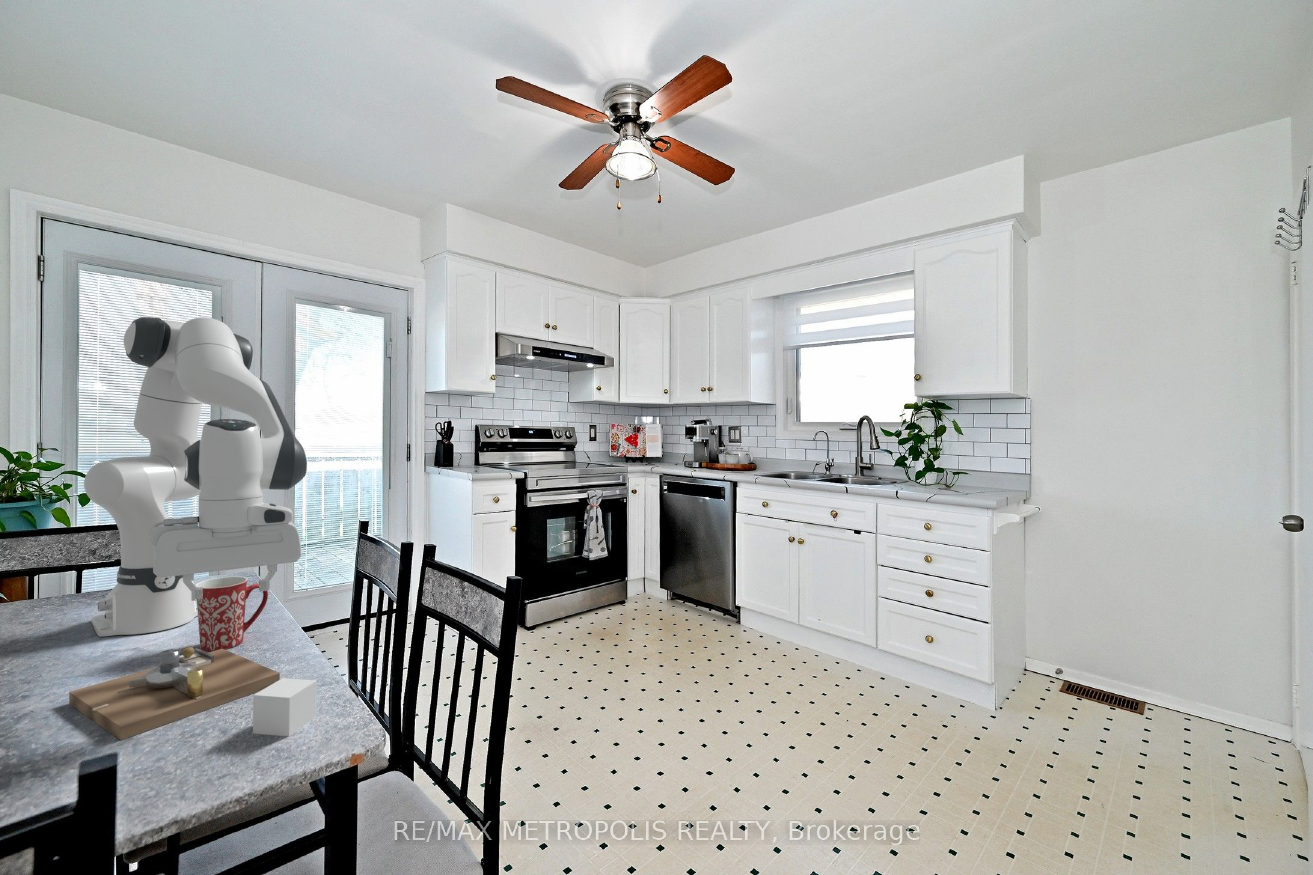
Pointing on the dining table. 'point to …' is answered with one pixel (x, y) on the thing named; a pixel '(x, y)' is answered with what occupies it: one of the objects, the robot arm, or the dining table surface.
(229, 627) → the mug
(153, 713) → the stand
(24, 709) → the dining table surface
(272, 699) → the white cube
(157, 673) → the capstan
